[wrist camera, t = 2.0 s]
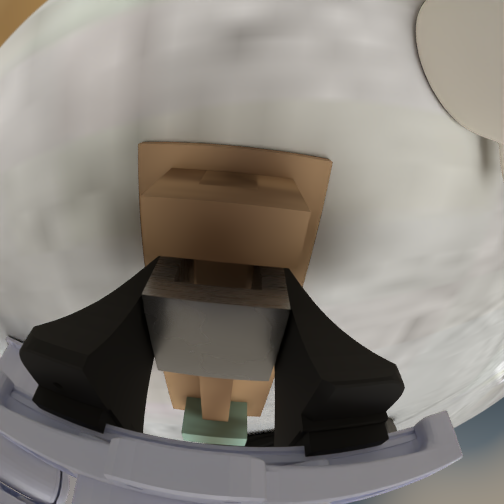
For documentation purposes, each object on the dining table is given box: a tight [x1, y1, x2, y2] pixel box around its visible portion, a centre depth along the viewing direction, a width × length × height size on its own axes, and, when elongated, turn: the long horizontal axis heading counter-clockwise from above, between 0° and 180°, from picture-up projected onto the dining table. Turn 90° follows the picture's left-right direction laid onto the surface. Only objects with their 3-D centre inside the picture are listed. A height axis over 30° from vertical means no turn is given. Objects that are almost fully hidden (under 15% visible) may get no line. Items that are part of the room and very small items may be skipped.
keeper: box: [142, 256, 291, 381], centre depth 11 cm, size 4×4×5 cm
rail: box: [138, 142, 333, 446], centre depth 14 cm, size 8×22×4 cm, turn 173°
